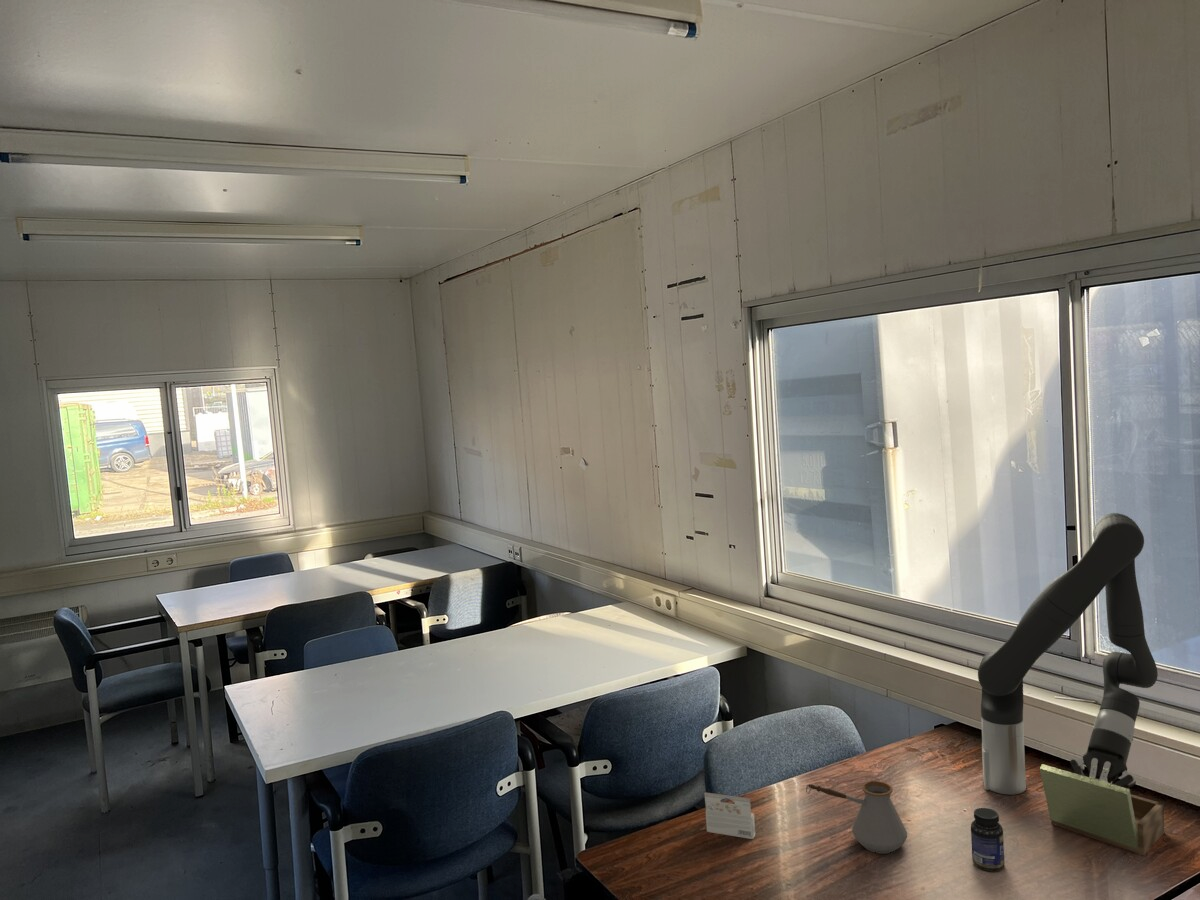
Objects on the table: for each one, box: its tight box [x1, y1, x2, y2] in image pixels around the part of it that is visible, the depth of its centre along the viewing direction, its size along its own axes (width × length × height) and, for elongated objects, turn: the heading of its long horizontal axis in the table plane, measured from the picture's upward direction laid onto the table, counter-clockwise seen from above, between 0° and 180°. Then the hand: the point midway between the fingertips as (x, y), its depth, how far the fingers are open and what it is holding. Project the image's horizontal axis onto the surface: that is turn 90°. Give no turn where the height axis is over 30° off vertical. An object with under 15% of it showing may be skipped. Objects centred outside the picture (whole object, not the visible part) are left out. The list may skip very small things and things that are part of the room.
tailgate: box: [1039, 763, 1140, 848], centre depth 179 cm, size 2×17×14 cm, turn 39°
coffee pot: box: [805, 780, 908, 854], centre depth 186 cm, size 21×12×15 cm, turn 92°
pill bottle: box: [970, 807, 1006, 873], centre depth 175 cm, size 6×6×11 cm
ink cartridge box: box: [703, 792, 756, 840], centre depth 195 cm, size 2×11×10 cm, turn 65°
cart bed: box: [1050, 793, 1165, 856], centre depth 185 cm, size 12×18×6 cm, turn 39°
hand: (1092, 810), depth 180 cm, fingers closed
